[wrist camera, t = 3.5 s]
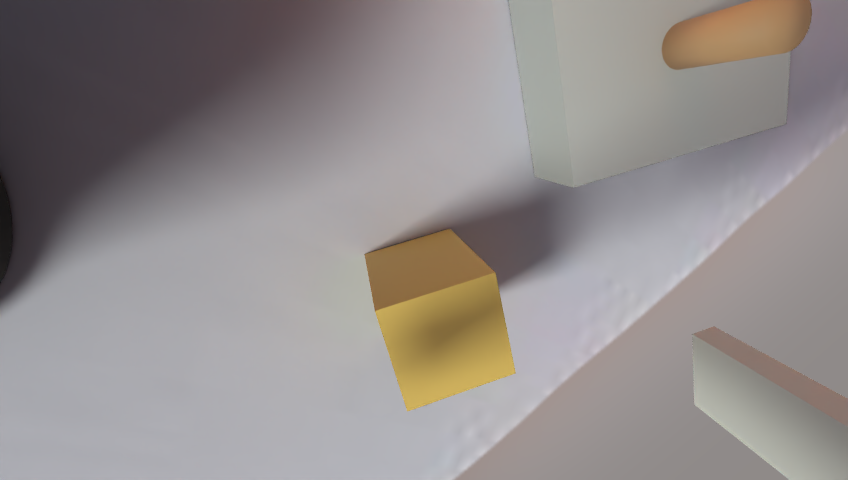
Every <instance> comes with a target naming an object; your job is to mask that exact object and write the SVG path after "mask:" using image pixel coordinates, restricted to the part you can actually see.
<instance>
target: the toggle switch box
mask: <svg viewBox="0 0 848 480" xmlns="http://www.w3.org/2000/svg"><path fill="white" fill-rule="evenodd" d="M508 2H509V9H510V16H511V22H512V29H513V35H514V42H515V49H516V55H517V62H518V69H519V75H520V82H521V88H522V95H523V102H524V108H525V115H526V122H527V128H528V135H529V141H530V148H531V155H532V161H533V168H534V175H535V177H537V178H540V179H544V180H547V181H551V182H555V183H558V184H562V185H565V186H569V187H573V188H575V187H578V186H582V185H585V184H588V183H592V182H595V181H598V180H602V179H605V178H608V177H612V176H615V175H618V174H622V173H625V172H628V171H632V170H635V169H638V168H642V167H645V166H648V165H652V164H655V163H658V162H662V161H665V160H668V159H672V158H675V157H678V156H682V155H685V154H688V153H692V152H695V151H698V150H702V149H705V148H708V147H712V146H715V145H718V144H722V143H725V142H728V141H732V140H735V139H738V138H742V137H745V136H748V135H752V134H755V133H758V132H762V131H765V130H769V129H772V128H775V127H779V126H782V125H785V124H786V121H787V105H788V88H789V71H790V54H791V50H793V49H794V48H796V47H797V46H798V45H799V44H800V43H801V41H802V40H803V39H804V37H805V35H806V33H807V31H808V29H809V26H810V22H811V16H812V9H811V3H810V0H508Z"/></svg>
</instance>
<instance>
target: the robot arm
mask: <svg viewBox="0 0 848 480" xmlns="http://www.w3.org/2000/svg"><path fill="white" fill-rule="evenodd" d="M11 245H12V220H11V212H10V207H9V202H8V198H7V195H6V191H5V188H4V185H3V183H2V180H1V177H0V283H1V281H2V279H3V276H4V274H5V271H6V268H7V265H8V262H9V258H10V252H11ZM692 340H693V341H692V342H693V374H694V404H695V405H696V406H697V407H698V408H700V409H701V410H702V411H703V412H705V413H706V414H707V415H708V416H710V417H711V418H712V419H713V420H715V421H716V422H717V423H718V424H720V425H721V426H722V427H724V428H725V429H726V430H727V431H729V432H730V433H731V434H732V435H734V436H735V437H736V438H738V439H739V440H740V441H741V442H742V443H744V444H745V445H746V446H747V447H749V448H750V449H751V450H753V451H754V452H755V453H756V454H758V455H759V456H760V457H761V458H763V459H764V460H765V461H766V462H768V463H769V464H770V465H771V466H773V467H774V468H775V469H777V470H778V471H779V472H780V473H782V474H783V475H784V476H785V477H787V478H788V479H789V480H848V399H847V398H845V397H843V396H842V395H840V394H838V393H836V392H834V391H832V390H830V389H829V388H827V387H825V386H823V385H821V384H819V383H817V382H816V381H814V380H812V379H810V378H808V377H806V376H805V375H803V374H801V373H799V372H797V371H795V370H793V369H792V368H790V367H788V366H786V365H784V364H782V363H780V362H778V361H777V360H775V359H773V358H771V357H769V356H768V355H766V354H764V353H762V352H760V351H758V350H756V349H755V348H753V347H751V346H749V345H747V344H745V343H743V342H742V341H740V340H738V339H736V338H734V337H732V336H731V335H729V334H727V333H725V332H723V331H721V330H719V329H718V328H716V327H711V328H708V329H706V330H703V331H700V332H697V333H694V334H692Z"/></svg>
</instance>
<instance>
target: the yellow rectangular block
mask: <svg viewBox="0 0 848 480" xmlns="http://www.w3.org/2000/svg"><path fill="white" fill-rule="evenodd" d="M365 259H366V264H367V270H368V275H369V281H370V286H371V292H372V297H373V303H374V308H375V312H376V316H377V319H378V322H379V325H380V328H381V331H382V334H383V337H384V340H385V343H386V347H387V350H388V353H389V356H390V359H391V362H392V365H393V368H394V371H395V374H396V377H397V381H398V384H399V387H400V390H401V393H402V396H403V399H404V402H405V405H406V408H407V411H410V410H413V409H416V408H419V407H421V406H424V405H427V404H430V403H433V402H436V401H438V400H441V399H444V398H447V397H450V396H452V395H455V394H458V393H461V392H464V391H467V390H469V389H472V388H475V387H478V386H481V385H484V384H486V383H489V382H492V381H495V380H498V379H501V378H503V377H506V376H509V375H512V374H515V368H514V363H513V358H512V353H511V348H510V343H509V338H508V333H507V328H506V323H505V318H504V313H503V308H502V303H501V298H500V293H499V288H498V283H497V278H496V273H495V272H494V271H493V270H492V269H491V268H490V267H489V266H488V265H487V264H486V263H485V262H484V261H483V260H482V259H481V258H480V257H479V256H478V255H477V254H476V253H475V252H474V251H473V250H472V249H471V248H469V247H468V246H467V245H466V244H465V243H464V242H463V241H462V240H461V239H460V238H459V237H458V236H457V235H456V234H455V233H454V232H453V231H452V230H451V229H447V230H443V231H440V232H437V233H433V234H430V235H427V236H423V237H420V238H417V239H413V240H410V241H407V242H403V243H400V244H397V245H393V246H390V247H387V248H384V249H380V250H377V251H374V252H370V253H367V254H365Z"/></svg>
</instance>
